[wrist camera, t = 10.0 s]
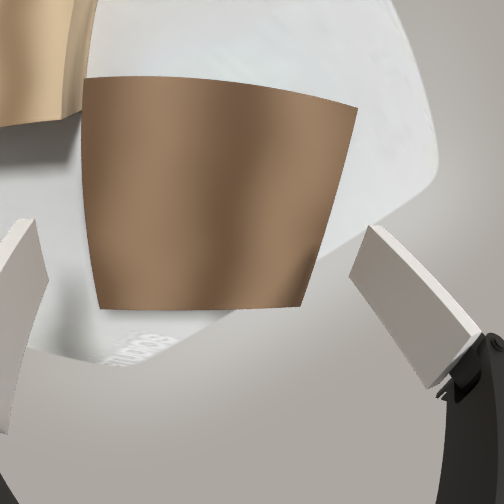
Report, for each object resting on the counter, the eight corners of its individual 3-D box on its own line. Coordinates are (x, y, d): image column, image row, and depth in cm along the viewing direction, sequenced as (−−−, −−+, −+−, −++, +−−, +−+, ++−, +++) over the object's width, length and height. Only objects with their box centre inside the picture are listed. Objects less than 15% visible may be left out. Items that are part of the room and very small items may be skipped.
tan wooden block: (-13, 121, 13) (-45, 136, 9) (17, -55, 5) (-8, -69, 2) (83, 109, 15) (61, 119, 12) (121, -80, 7) (111, -106, 4)
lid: (106, 281, 17) (99, 309, 15) (99, 77, 11) (83, 78, 9) (288, 281, 21) (300, 306, 19) (333, 101, 14) (358, 108, 12)
